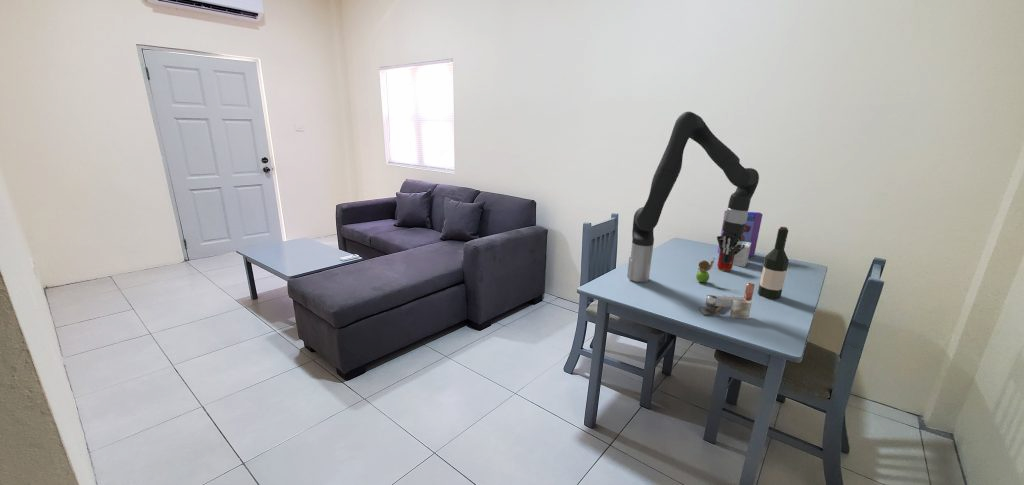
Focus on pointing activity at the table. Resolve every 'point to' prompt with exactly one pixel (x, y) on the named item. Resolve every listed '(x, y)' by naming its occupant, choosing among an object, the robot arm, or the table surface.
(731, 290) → the table surface
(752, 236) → the cereal box
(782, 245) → the wine bottle
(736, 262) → the light bulb box
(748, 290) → the bar
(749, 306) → the base
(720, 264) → the soda can
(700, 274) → the snail figurine
